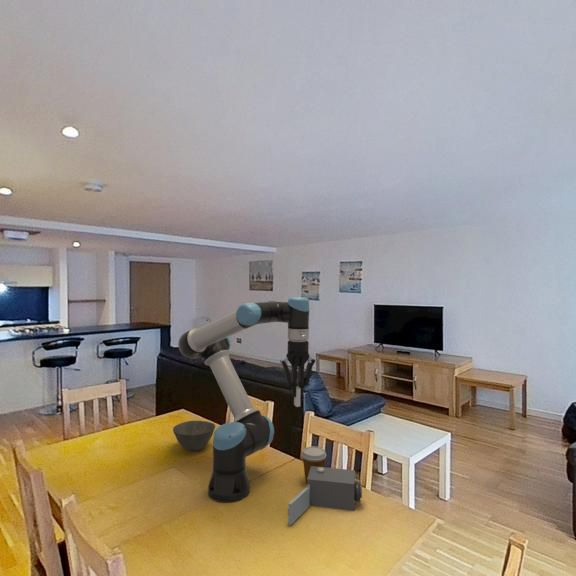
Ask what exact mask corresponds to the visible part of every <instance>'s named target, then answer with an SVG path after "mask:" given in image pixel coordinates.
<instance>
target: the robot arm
mask: <svg viewBox="0 0 576 576" xmlns="http://www.w3.org/2000/svg"><path fill="white" fill-rule="evenodd" d="M269 323H285V324H286V323H287V339H288V341H287V353H286V355H285V358H283V359H280V360H279V362H280V364H281V365H282V368H283V373H284V378H285V383H286V385H287V386H288V387H289V388H291V396H292V397H293V405H294V406H295V407H296V408H299V407H301V397H303V395H304V389H305V387H307V386H309V383H310V378H311V374H312V371H313V367H314V365H315V362H316V359H314V358H313V357H311V355H310V353H309V349H310V348H309V346H310V344H309V343H310V342H309V341H308V340H309V338H310V335H309V334H310V333H309V332H310V330H309V329H310V328H309V323H310V300H309V298H308V297H306V296H305V297H304V296H301V297H300V296H299V297H298V296H290V297H289V298H288V301H275V300H268V301H263V302H247V303H242V304H239V306H238V307H237V309H236V310H234V311H233V312H231V313H229V314H226V315H224V316H222V317H220V318H218V319H215V320H214V321H211V322H210V323H208V324H206V325H204V326H202V327H200V328H197V327H195V328H192V329H190V330H188V331H185V332H184V333H182V335H181V336H180V337H179V339H178V343H177V344H178V350H179V352H180V353H181V355H182V356H183V357H185V358H188V359H191V360H196V359H197V360H198V359H202V361H203V363H204V365H205V366H209V367H210V370H211V371H212V374H213V376H214V377H215V380H216V382H217V385H218V386H219V388H220V391H221V393H222V396H223V398H224V400H225V401H226V404H227V405H228V408H229V411H230V412H231V414H232V417H233V418H234V419H233V421H232V422H231V421H230V422H226V423H223V424H221V425H219V426H218V427H217V428H215V429H214V432H213V439H212V474H211V476H210V479H209V483H208V485H207V495H208V496H209V498H210V499H211V500H213V501H215V502H219V503H234V502H238V501H240V500H243V499H245V498H246V497H247V496H249V494H250V492H251V483H250V482H251V481H250V480H249V477H248V473H247V471H246V459H247V457H249V456H251V455H253V454H255V453H256V452H258V451H261V450H263V449H265V448H266V447H268V446H269V445H270V444H272V442H273V439H274V435H275V428H274V427H275V426H274V424H273V422H272V420H271V419H270V418H269V417H267V416H266V415H262V413H261V411H260V410H259V409H257V408H255V407H254V406H253V404H252V402H251V399H250V397H249V395H248V393H247V391H246V389H245V387H244V385H243V384H242V382H241V379H240V377H239V375H238V373H237V371H236V369H235V367H234V365H233V363H232V361H231V359H230V357H229V356H230V353H231V350H230V349H231V339H230V337H232V336H233V335H236V334H238V333H241V332H242V331H245V330H247V329H249V328H251V327H253V326H256V325H260V324H261V325H262V324H269ZM288 362H289V364H290V366H291V375H290V370H289V365H288ZM306 363H307V364H306ZM305 365H306V368H305ZM304 371H305V373H304ZM297 385H298V386H297Z"/></svg>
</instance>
